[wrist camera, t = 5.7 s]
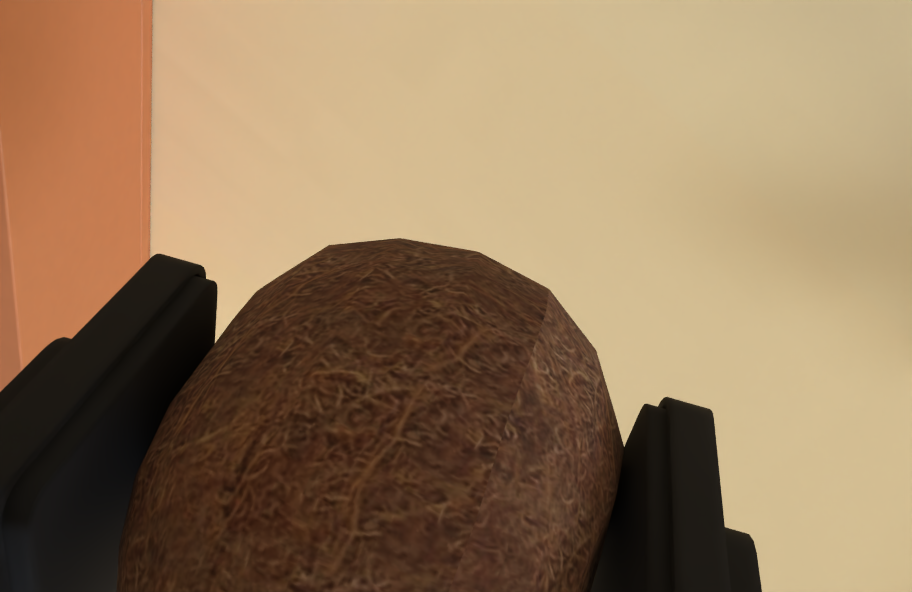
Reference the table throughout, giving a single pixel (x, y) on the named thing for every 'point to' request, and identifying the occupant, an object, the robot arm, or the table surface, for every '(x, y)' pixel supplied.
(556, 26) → the table surface
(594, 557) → the coconut
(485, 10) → the table surface
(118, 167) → the box
